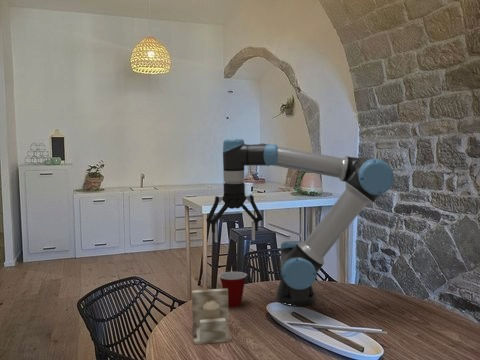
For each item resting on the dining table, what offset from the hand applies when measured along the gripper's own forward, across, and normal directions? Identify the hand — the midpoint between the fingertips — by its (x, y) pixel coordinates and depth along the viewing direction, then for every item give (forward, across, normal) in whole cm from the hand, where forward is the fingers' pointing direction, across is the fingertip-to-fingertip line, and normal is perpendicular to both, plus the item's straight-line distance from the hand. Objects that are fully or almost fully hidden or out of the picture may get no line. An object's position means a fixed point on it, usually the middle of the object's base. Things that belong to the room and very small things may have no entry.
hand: (234, 240), depth 149 cm
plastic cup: (+27, 0, -7) cm, 28 cm away
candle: (+26, +10, +16) cm, 32 cm away
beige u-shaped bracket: (+27, +10, +16) cm, 33 cm away
